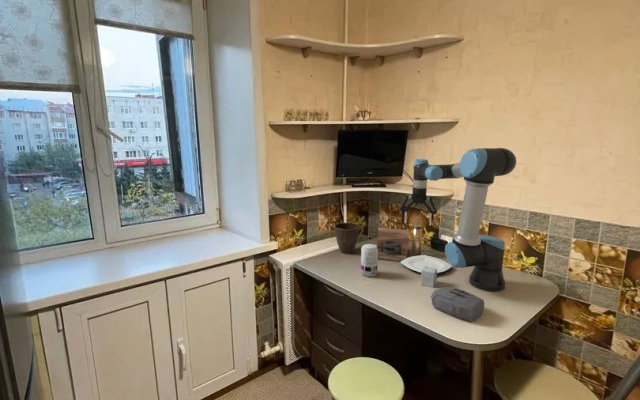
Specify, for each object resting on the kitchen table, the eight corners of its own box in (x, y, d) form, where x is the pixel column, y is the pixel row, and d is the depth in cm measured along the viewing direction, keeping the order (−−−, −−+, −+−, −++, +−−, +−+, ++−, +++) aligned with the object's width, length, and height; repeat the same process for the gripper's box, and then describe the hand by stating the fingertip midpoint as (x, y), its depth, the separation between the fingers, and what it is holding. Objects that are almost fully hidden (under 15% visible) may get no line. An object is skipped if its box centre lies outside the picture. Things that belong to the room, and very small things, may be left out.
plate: (458, 269, 179) (458, 266, 178) (428, 280, 167) (428, 276, 166) (423, 256, 198) (423, 252, 197) (394, 264, 186) (394, 261, 185)
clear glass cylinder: (420, 257, 195) (422, 227, 192) (410, 256, 197) (412, 226, 194) (421, 254, 200) (422, 224, 197) (411, 253, 202) (413, 224, 198)
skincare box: (433, 287, 159) (434, 272, 157) (420, 284, 162) (421, 270, 160) (436, 282, 164) (437, 268, 162) (423, 280, 167) (424, 265, 166)
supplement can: (357, 274, 174) (358, 246, 171) (367, 269, 180) (367, 242, 177) (370, 279, 168) (371, 250, 165) (380, 273, 174) (381, 245, 171)
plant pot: (345, 245, 216) (345, 221, 213) (364, 251, 206) (364, 225, 203) (329, 251, 206) (329, 226, 203) (348, 258, 196) (348, 231, 193)
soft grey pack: (487, 312, 138) (441, 295, 152) (489, 293, 136) (442, 277, 151) (471, 327, 128) (423, 307, 142) (472, 306, 126) (424, 288, 141)
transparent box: (405, 262, 188) (406, 239, 186) (372, 258, 194) (373, 236, 191) (408, 251, 205) (409, 230, 202) (378, 248, 211) (378, 227, 208)
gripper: (443, 187, 190) (440, 224, 195) (397, 184, 198) (396, 220, 203) (443, 189, 183) (440, 227, 188) (396, 187, 191) (394, 223, 196)
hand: (417, 223), depth 195 cm, fingers open, 13 cm apart
